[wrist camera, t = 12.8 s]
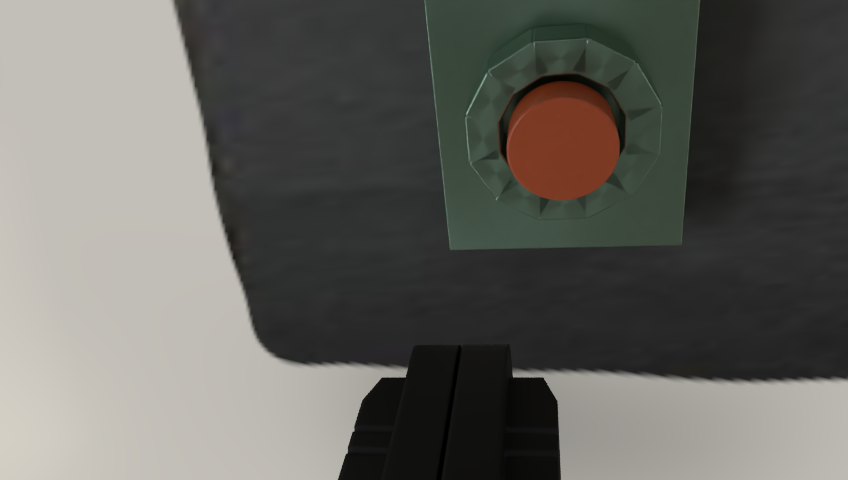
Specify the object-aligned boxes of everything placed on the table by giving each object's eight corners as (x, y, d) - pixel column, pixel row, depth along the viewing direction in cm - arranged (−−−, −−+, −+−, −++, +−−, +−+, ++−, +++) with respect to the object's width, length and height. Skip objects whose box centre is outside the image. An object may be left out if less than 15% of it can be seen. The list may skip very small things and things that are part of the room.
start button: (505, 83, 25) (503, 100, 23) (616, 76, 24) (621, 94, 23) (510, 180, 26) (509, 203, 25) (614, 176, 26) (619, 199, 24)
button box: (429, -45, 26) (411, -23, 23) (692, -70, 25) (716, -50, 21) (455, 224, 32) (444, 274, 28) (673, 218, 30) (689, 271, 27)
